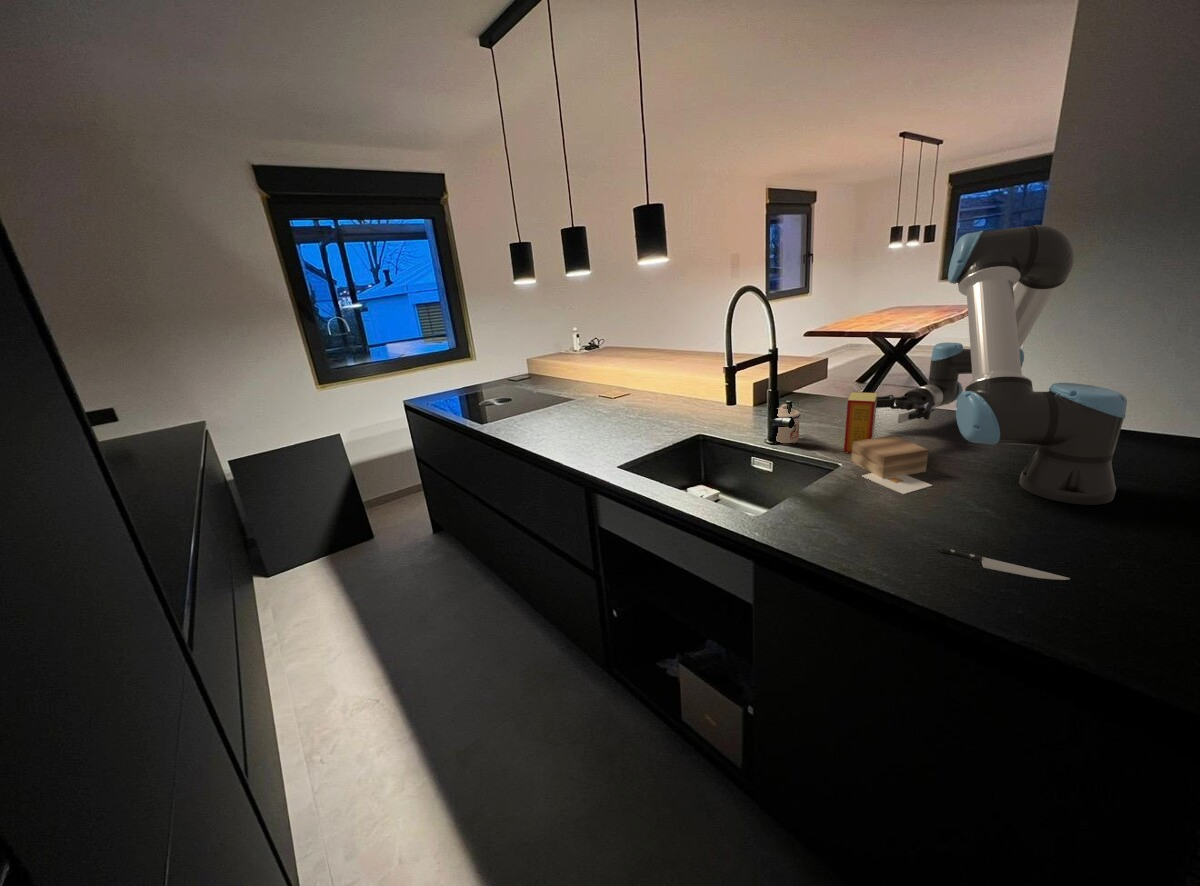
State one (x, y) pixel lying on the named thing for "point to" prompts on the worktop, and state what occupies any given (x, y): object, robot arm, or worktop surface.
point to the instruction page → (898, 483)
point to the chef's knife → (1003, 565)
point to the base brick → (889, 456)
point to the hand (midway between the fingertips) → (876, 413)
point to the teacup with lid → (785, 432)
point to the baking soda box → (860, 418)
